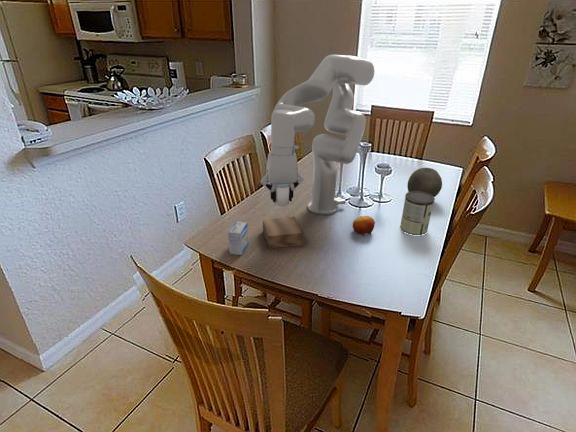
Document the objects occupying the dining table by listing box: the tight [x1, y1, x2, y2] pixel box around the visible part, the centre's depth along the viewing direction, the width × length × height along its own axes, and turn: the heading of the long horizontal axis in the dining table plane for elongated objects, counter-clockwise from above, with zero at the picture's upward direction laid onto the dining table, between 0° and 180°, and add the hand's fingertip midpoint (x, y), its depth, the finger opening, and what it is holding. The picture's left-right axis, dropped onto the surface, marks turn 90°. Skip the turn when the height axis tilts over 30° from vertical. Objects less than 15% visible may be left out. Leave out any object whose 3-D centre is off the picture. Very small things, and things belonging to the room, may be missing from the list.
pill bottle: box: [274, 183, 290, 207], centre depth 128 cm, size 5×5×8 cm
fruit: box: [352, 215, 376, 237], centre depth 139 cm, size 8×8×8 cm
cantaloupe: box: [407, 167, 443, 198], centre depth 163 cm, size 14×14×15 cm
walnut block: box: [262, 216, 303, 249], centre depth 135 cm, size 12×12×5 cm
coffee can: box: [399, 191, 436, 235], centre depth 140 cm, size 10×10×14 cm
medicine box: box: [227, 221, 249, 256], centre depth 128 cm, size 8×4×9 cm, turn 168°
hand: (281, 199), depth 129 cm, fingers closed on pill bottle, 5 cm apart
